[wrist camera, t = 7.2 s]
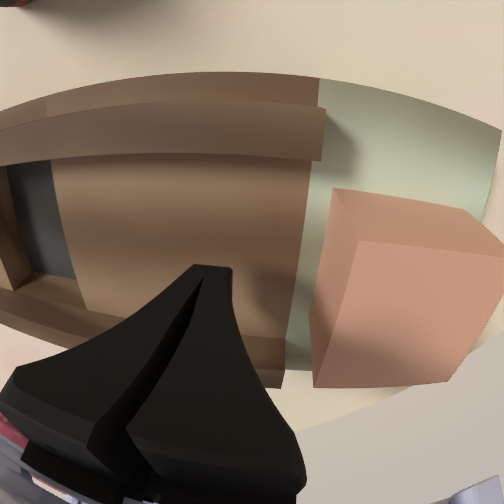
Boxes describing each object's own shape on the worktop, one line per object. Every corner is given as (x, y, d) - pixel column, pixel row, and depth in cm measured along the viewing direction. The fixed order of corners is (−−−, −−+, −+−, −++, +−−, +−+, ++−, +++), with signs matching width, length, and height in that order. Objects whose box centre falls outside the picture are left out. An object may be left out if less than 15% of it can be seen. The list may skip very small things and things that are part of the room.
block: (421, 319, 13) (447, 381, 9) (308, 315, 13) (313, 387, 10) (464, 209, 10) (519, 259, 6) (332, 187, 10) (358, 240, 7)
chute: (398, 335, 17) (417, 396, 13) (30, 290, 19) (-3, 329, 15) (466, 119, 10) (532, 141, 6) (-10, 118, 12) (-64, 139, 8)
